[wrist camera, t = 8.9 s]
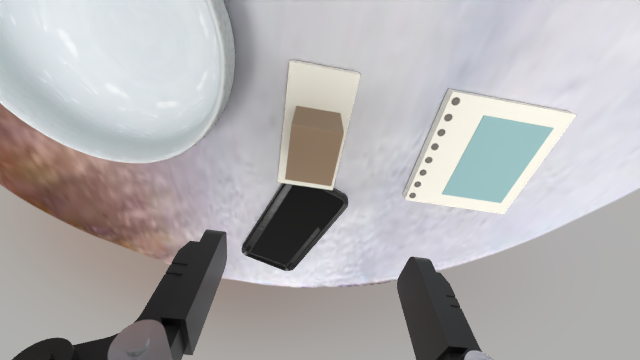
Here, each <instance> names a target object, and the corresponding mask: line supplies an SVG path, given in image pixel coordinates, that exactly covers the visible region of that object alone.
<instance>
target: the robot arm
mask: <svg viewBox="0 0 640 360" xmlns="http://www.w3.org/2000/svg"><path fill="white" fill-rule="evenodd" d="M226 260H227V240H226V232H223V231H215V230H206V231H205V232H204V234H203V236H202V238H201V240H200V242H195V241H190V242H188V243H187V244H186V245H185V246H184V247H182V248H181V249H180V250H179V251H178V253H177V254H176V256H175V258H174V259H173V261H172V264H171V265H170V266H169V268H168V270H167V271H166V274H165V275H164V276H163V278H162V280H161V281H160V283H159V285H158V287H157V288H156V290H155V292H154V293H153V295H152V297H151V298H150V300H149V302H148V303H147V305H146V307H145V309H144V310H143V312H142V314H141V315H140V316H139V318H138V319H137V320H136V321H135V322H134V323H133V324H131V325H130V326H128V327H126V328H125V329H124V330H122V331H121V332H120V333H118V334H116V335H113V336H111V337H107V338H104V339H99V340H95V341H90V342H86V343H81V344H77V345H72V344H71V343H70V342H69V341H68V340H66V339H63V338H51V339H46V340H43V341H40V342H38V343H36V344H33V345H32V346H30V347H28V348H26V349H25V350H24V351H22V352H21V353H19V354H18V355H17V356H16V357H14V358H13V359H12V360H181V359H182V356H183V354H186V355H193V352H194V350H195V347H196V344H197V341H198V339H199V336H200V334H201V331H202V328H203V325H204V323H205V320H206V317H207V314H208V312H209V309H210V307H211V304H212V301H213V299H214V296H215V293H216V291H217V288H218V285H219V282H220V280H221V277H222V274H223V272H224V269H225V265H226ZM397 289H398V294H399V298H400V301H401V305H402V309H403V312H404V316H405V320H406V323H407V327H408V330H409V334H410V338H411V341H412V345H413V349H414V352H415V356H416V360H493V359H492V358H491V357H489V356H488V355H486V354H485V353H482V351H481V349H480V348H479V345H478V343H477V341H476V339H475V337H474V336H473V333H472V331H471V328H470V326H469V324H468V322H467V320H466V318H465V316H464V314H463V312H462V309H460V305H459V303H458V301H457V299H456V298H455V294H454V292H453V290H452V288H451V286H450V284H449V283H448V281H446V279H445V278H444V277H443V276H442V274H441V273H438V272H436V271H435V269H434V266H433V264H432V262H431V261H430V260H429V259H426V258H418V257H410V258H409V260H408V261H407V263H406V265H405V267H404V269H403V270H402V272H401V274H400V276H399V278H398V282H397Z"/></svg>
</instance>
